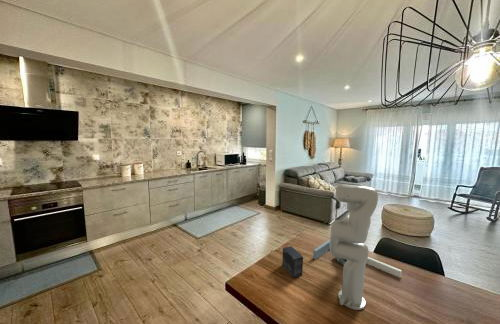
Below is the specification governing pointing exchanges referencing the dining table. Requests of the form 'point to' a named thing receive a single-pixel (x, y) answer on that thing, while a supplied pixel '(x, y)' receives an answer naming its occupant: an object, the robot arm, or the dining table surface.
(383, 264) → the fence
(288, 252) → the small box
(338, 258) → the grey rock
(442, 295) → the dining table surface
